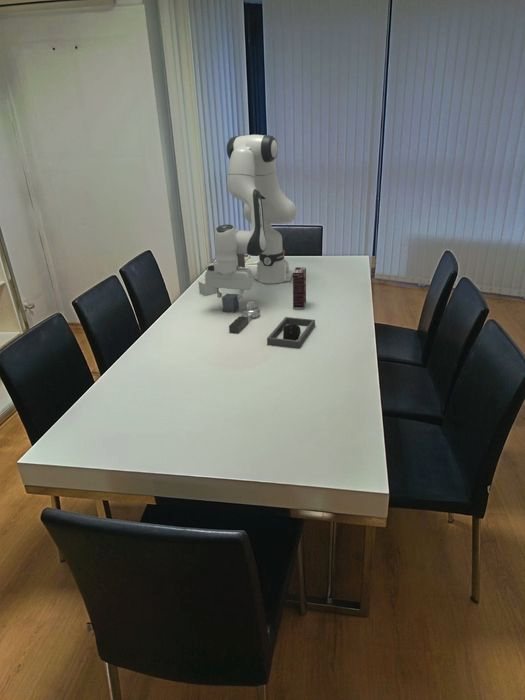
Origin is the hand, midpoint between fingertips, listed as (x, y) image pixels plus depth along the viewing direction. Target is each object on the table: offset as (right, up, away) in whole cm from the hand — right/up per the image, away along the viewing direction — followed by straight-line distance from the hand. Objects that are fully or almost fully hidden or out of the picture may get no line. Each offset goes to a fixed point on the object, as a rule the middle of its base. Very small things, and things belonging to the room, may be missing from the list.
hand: (229, 298), depth 205 cm
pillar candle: (0, +16, +46) cm, 49 cm away
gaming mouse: (+25, -17, -24) cm, 38 cm away
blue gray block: (0, -5, +3) cm, 6 cm away
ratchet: (+7, -11, -10) cm, 16 cm away
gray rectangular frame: (+25, -16, -23) cm, 38 cm away
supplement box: (+30, -3, +4) cm, 30 cm away
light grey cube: (-12, +5, +25) cm, 28 cm away
